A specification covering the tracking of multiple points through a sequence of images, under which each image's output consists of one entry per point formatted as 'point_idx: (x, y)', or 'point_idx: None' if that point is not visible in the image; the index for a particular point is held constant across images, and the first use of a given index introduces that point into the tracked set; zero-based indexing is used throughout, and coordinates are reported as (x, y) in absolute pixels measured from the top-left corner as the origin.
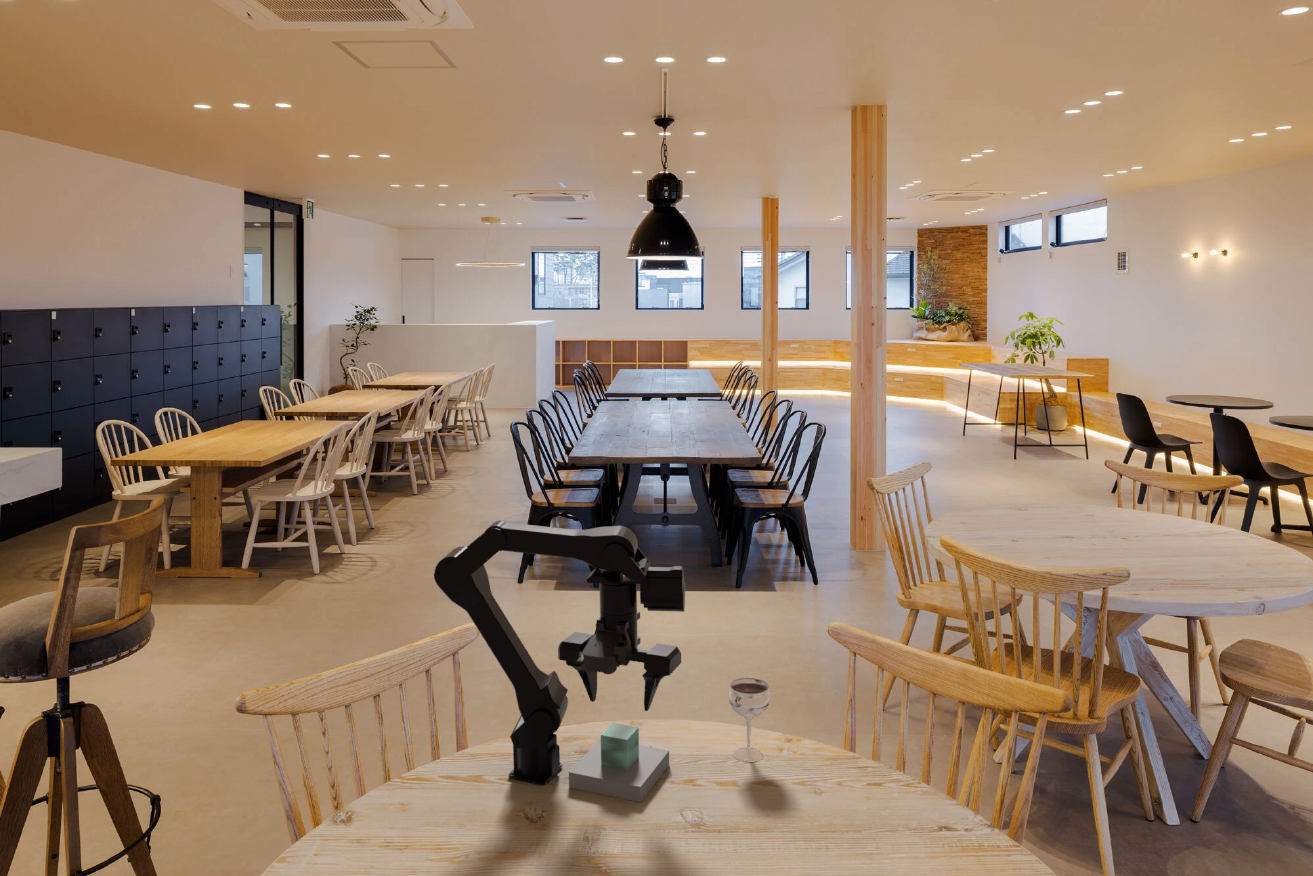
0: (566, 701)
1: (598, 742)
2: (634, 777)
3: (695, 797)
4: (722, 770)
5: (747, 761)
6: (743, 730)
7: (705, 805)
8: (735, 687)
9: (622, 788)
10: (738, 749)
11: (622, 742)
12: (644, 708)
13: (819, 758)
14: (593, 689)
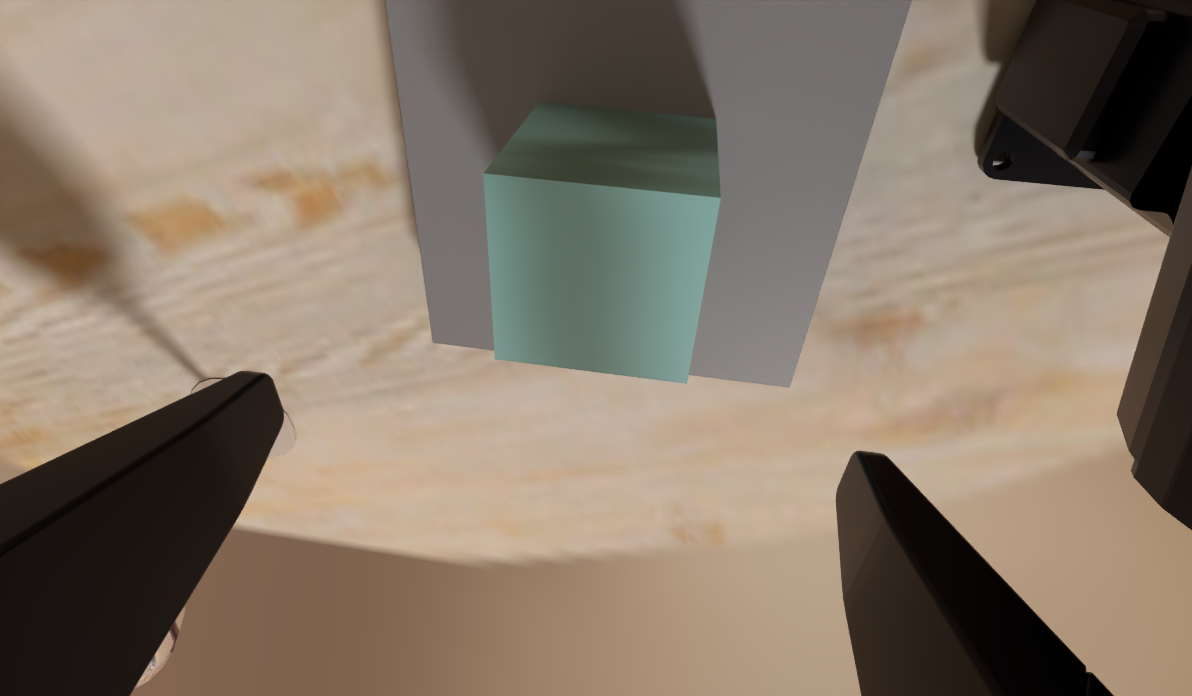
0: (1178, 457)
1: (796, 345)
2: (463, 27)
3: (210, 69)
4: (253, 311)
5: (215, 380)
6: (343, 534)
7: (126, 8)
8: (148, 677)
9: None
10: (285, 439)
11: (531, 168)
12: (250, 385)
13: (56, 433)
14: (883, 585)
